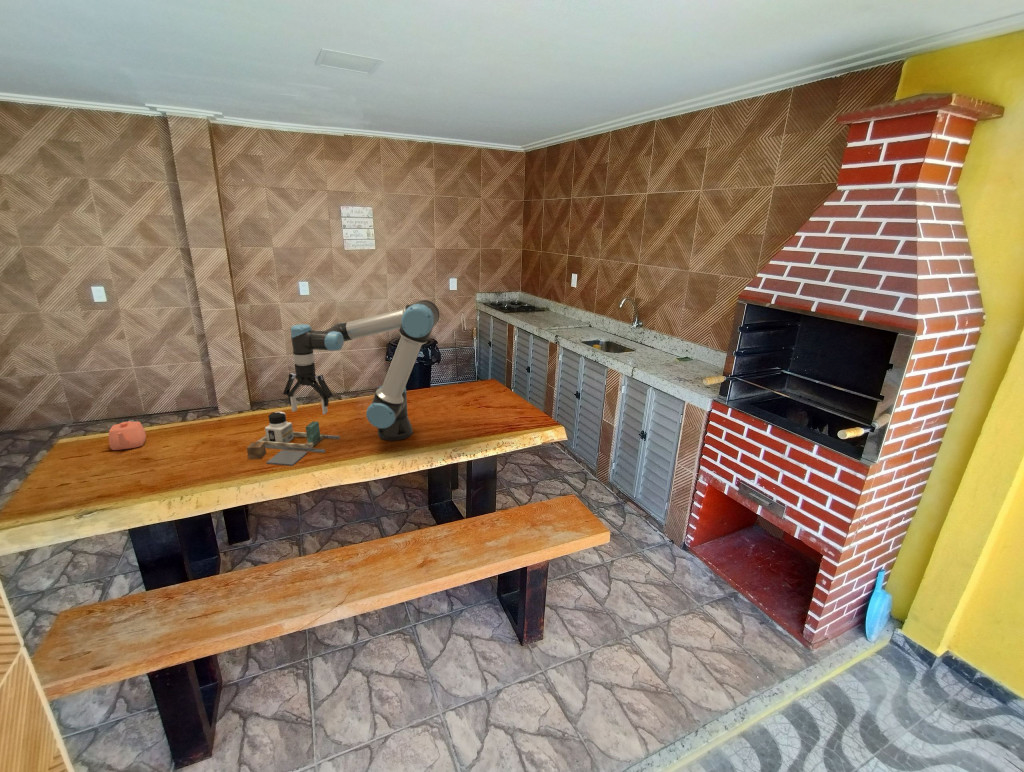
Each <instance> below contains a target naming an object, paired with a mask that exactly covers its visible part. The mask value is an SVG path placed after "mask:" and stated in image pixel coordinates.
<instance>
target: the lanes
mask: <svg viewBox="0 0 1024 772" xmlns="http://www.w3.org/2000/svg"><path fill="white" fill-rule="evenodd" d="M265 436H266V434H265V435H264V436H263V437H265ZM340 436H341V435H331V434H324V439H330V440H340V439H341V437H340ZM263 437H261V438H259V439H258V440H256V441H255V442H258V441H259V440H260V439H262V438H263ZM265 449H273V450H274V449H275V450H291V451H303V452H309V453H310V452H311V453H320V454H321V453H323V454H325V453H326V449H324V448H314V447H313V448H303V447H290V446H278V445H266V444H265Z"/></svg>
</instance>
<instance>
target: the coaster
mask: <svg viewBox="0 0 1024 772" xmlns="http://www.w3.org/2000/svg"><path fill="white" fill-rule="evenodd" d="M307 454H308V451H296V450H284V449H280V451H279V452H278V453H276V454H275V455H274V456H272V457H271V458H270V459H268V461H267V460H266V464H267V465H268V464H269V465H279V466H290V467H291V466H294V465H295V464H297V463H298V462H299V461H300V460H301V459H303V458H304V457H305V456H306V455H307Z"/></svg>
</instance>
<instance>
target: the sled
mask: <svg viewBox="0 0 1024 772" xmlns="http://www.w3.org/2000/svg"><path fill="white" fill-rule="evenodd" d="M320 430H321V429H320V422H319V421H315V420H314V421H312V422H310V423H309V424H308V425H306V426H305V431H306V432H304V431H302V432H301V431H293V435H294V438H306V440H307V442H306V443H293V442H288V443H284V442H272V441H267V439H266V436H265V435H264V436H265V437H264V436H263V438H262V437H261V438H262V439H261V438H259V439H260V440H259V439H258V440H259V441H258V440H257V441H258V442H264V443H265V444H266V445H278V446H290V447H303V448H314V447H316V446H317V445H318V444H319V443H321V441H323V440H324V439H325V438H324V435H325V434H324V433H320V432H321V431H320Z"/></svg>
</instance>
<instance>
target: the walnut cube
mask: <svg viewBox="0 0 1024 772" xmlns="http://www.w3.org/2000/svg"><path fill="white" fill-rule="evenodd" d="M266 449H267V448H265V443H264V442H256V441H253V442H251V443H250V444H249V445H247V447H246V452H247V458H248V460H251V459H252V460H254V459H255V460H259V459H263V457H264V456H265V455H266V454H267V451H266Z"/></svg>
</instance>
